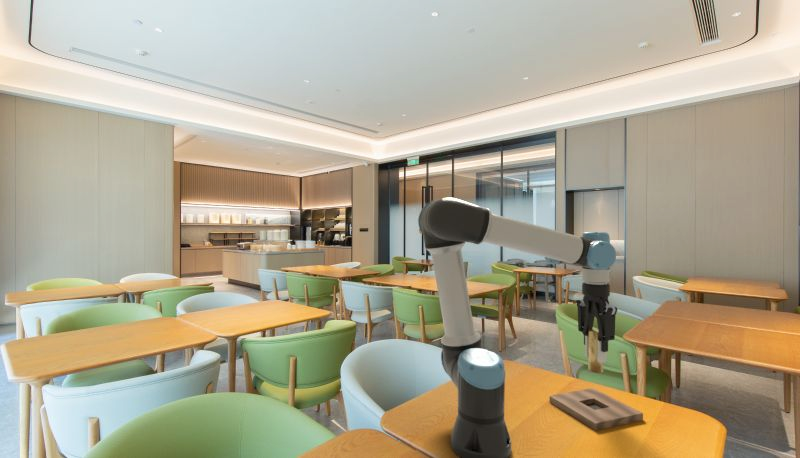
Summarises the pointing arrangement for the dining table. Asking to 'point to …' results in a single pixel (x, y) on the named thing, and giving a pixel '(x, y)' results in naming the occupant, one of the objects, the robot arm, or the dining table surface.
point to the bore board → (596, 408)
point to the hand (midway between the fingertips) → (595, 358)
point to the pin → (593, 352)
